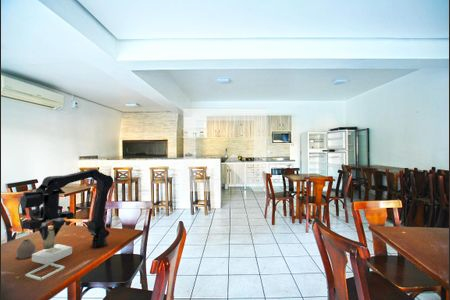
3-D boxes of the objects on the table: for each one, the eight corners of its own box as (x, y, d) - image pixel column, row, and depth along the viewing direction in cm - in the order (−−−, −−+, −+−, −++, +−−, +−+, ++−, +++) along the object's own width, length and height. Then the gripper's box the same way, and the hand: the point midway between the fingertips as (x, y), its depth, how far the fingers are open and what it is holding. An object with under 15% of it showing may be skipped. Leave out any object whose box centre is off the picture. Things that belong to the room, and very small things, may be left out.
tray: (50, 265, 102) (50, 262, 102) (64, 269, 99) (64, 266, 99) (25, 277, 92) (25, 274, 92) (40, 282, 89) (40, 278, 89)
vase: (36, 258, 108) (37, 240, 108) (17, 263, 103) (17, 244, 103) (34, 253, 112) (34, 236, 112) (15, 257, 107) (16, 239, 107)
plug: (50, 244, 104) (51, 227, 104) (56, 246, 103) (57, 229, 103) (41, 248, 100) (42, 230, 100) (47, 250, 99) (48, 232, 99)
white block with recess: (57, 251, 115) (57, 243, 115) (72, 254, 112) (72, 247, 112) (31, 262, 104) (31, 254, 104) (47, 266, 101) (47, 258, 101)
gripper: (59, 198, 113) (57, 228, 113) (15, 206, 95) (13, 242, 95) (75, 200, 109) (73, 232, 109) (32, 210, 92) (30, 247, 92)
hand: (49, 238), depth 101 cm, fingers closed on plug, 4 cm apart
